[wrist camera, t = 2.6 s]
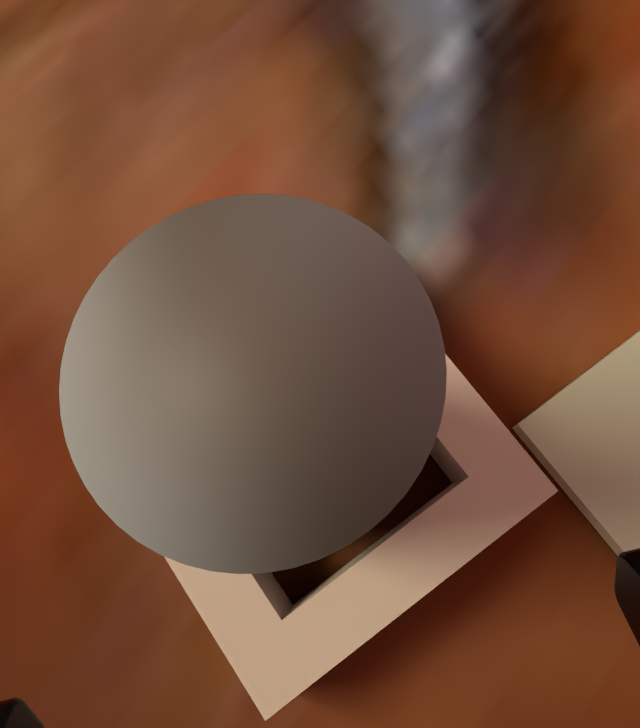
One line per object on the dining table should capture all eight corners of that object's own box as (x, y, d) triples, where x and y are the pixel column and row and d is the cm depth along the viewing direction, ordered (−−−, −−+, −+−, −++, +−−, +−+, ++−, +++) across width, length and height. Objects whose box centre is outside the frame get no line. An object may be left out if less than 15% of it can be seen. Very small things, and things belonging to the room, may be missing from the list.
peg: (298, 570, 19) (193, 665, 7) (214, 446, 21) (-8, 331, 8) (420, 477, 20) (530, 408, 7) (331, 362, 21) (295, 130, 9)
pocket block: (279, 689, 19) (265, 720, 16) (116, 430, 21) (77, 416, 18) (528, 494, 20) (558, 490, 17) (346, 269, 22) (344, 231, 19)
